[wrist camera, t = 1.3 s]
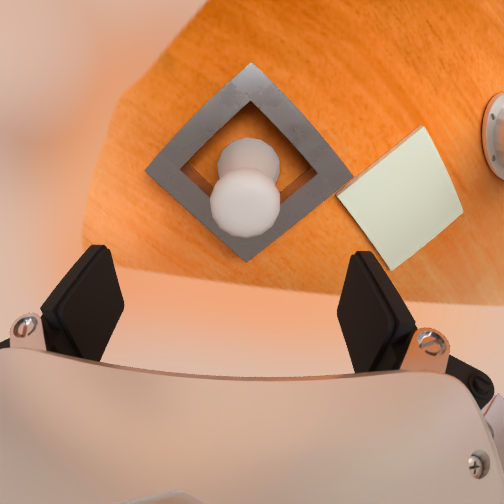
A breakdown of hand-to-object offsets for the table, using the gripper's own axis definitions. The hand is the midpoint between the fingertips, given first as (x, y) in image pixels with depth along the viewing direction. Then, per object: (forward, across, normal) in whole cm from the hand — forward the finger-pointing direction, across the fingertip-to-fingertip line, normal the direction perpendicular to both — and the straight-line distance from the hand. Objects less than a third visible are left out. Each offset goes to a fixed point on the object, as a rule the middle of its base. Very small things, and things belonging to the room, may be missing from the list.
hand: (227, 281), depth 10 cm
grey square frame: (+20, -1, 0) cm, 20 cm away
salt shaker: (+20, -1, 0) cm, 20 cm away
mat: (+19, -19, +3) cm, 27 cm away
